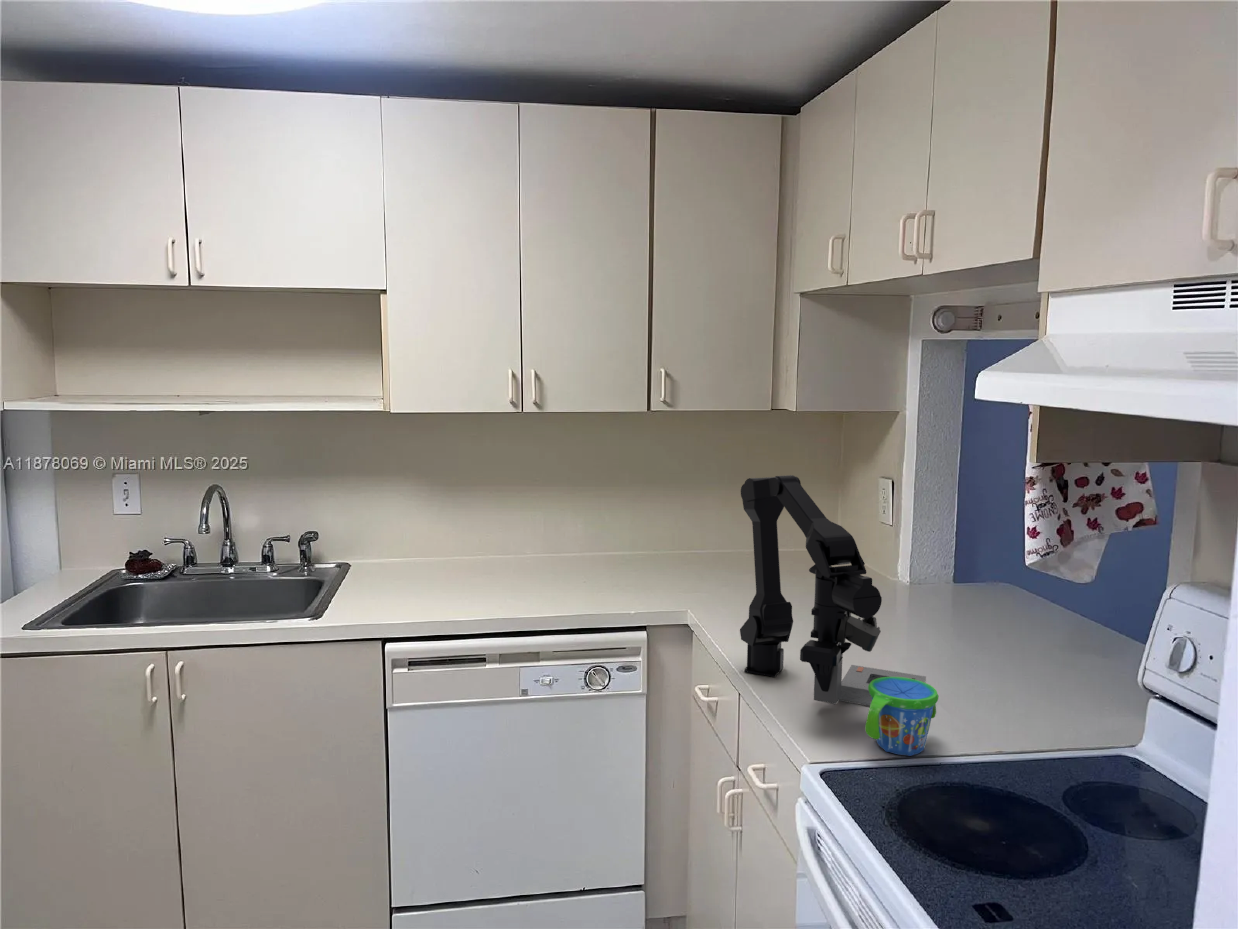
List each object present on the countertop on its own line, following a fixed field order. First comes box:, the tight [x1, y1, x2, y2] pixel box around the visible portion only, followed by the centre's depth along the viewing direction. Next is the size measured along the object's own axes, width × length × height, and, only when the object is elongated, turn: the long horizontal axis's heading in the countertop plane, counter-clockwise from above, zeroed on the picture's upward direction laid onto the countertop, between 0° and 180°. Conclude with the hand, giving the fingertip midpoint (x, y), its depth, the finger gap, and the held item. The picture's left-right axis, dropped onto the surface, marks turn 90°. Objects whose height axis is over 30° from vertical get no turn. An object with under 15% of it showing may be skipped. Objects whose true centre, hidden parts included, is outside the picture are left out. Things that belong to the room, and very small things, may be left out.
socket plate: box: [838, 664, 927, 707], centre depth 160 cm, size 14×12×3 cm
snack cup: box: [864, 677, 939, 757], centre depth 138 cm, size 16×10×10 cm
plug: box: [813, 653, 844, 705], centre depth 152 cm, size 4×4×9 cm
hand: (827, 687), depth 152 cm, fingers closed on plug, 4 cm apart
